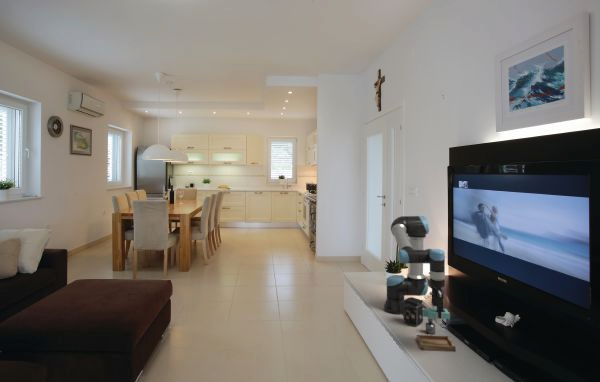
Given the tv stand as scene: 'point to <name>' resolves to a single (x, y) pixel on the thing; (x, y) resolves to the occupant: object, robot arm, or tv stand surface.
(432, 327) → the mallet
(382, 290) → the tv stand surface
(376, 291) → the tv stand surface
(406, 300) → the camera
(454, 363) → the tv stand surface
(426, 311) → the teal rectangular frame
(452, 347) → the tray
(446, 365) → the tv stand surface
